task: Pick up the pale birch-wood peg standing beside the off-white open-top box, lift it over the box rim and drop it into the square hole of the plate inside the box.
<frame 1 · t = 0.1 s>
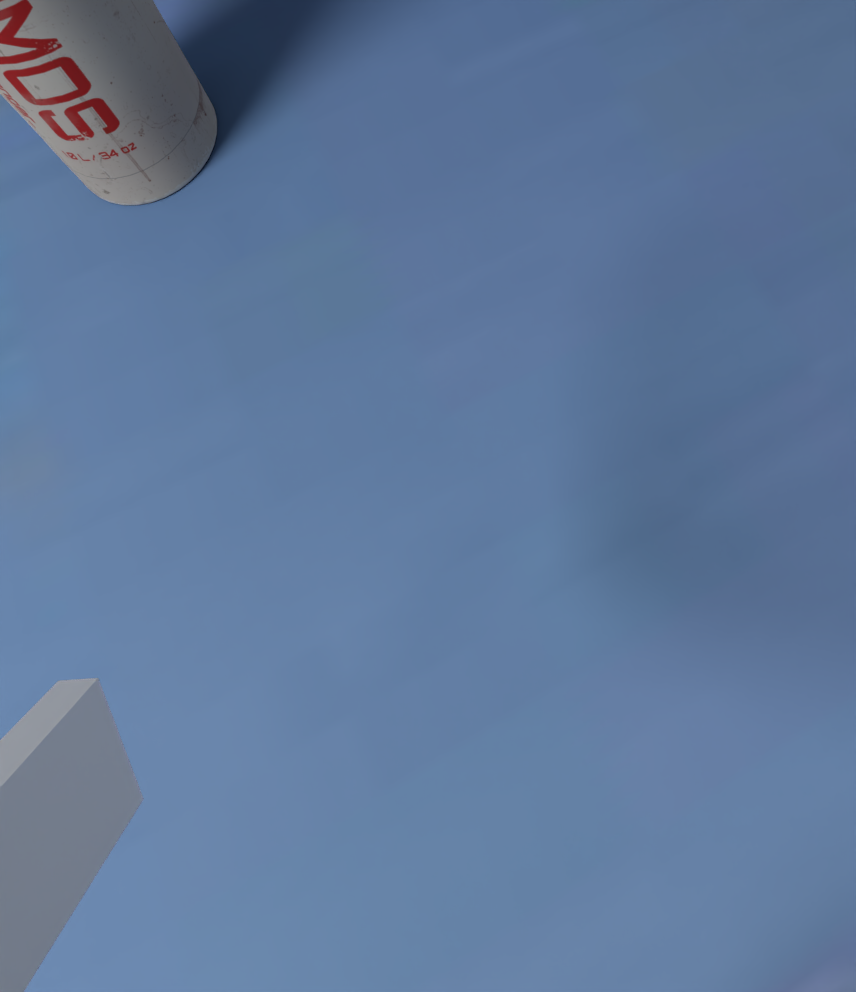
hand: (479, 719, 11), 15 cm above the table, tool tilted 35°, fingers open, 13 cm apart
thermos bottle: (149, 144, 36), on the table
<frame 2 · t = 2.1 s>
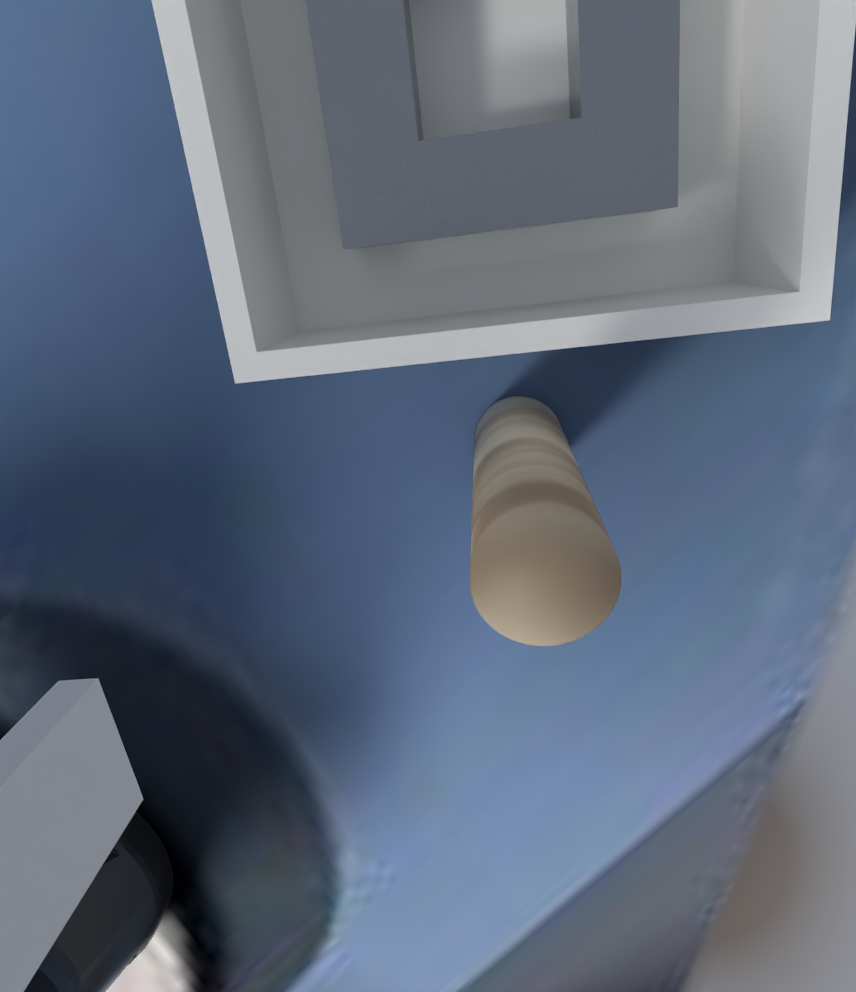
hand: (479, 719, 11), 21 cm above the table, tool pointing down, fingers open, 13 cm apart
box: (490, 64, 26), on the table
peg: (517, 438, 31), on the table
bore plate: (491, 46, 24), in the box, point 2 cm above the table
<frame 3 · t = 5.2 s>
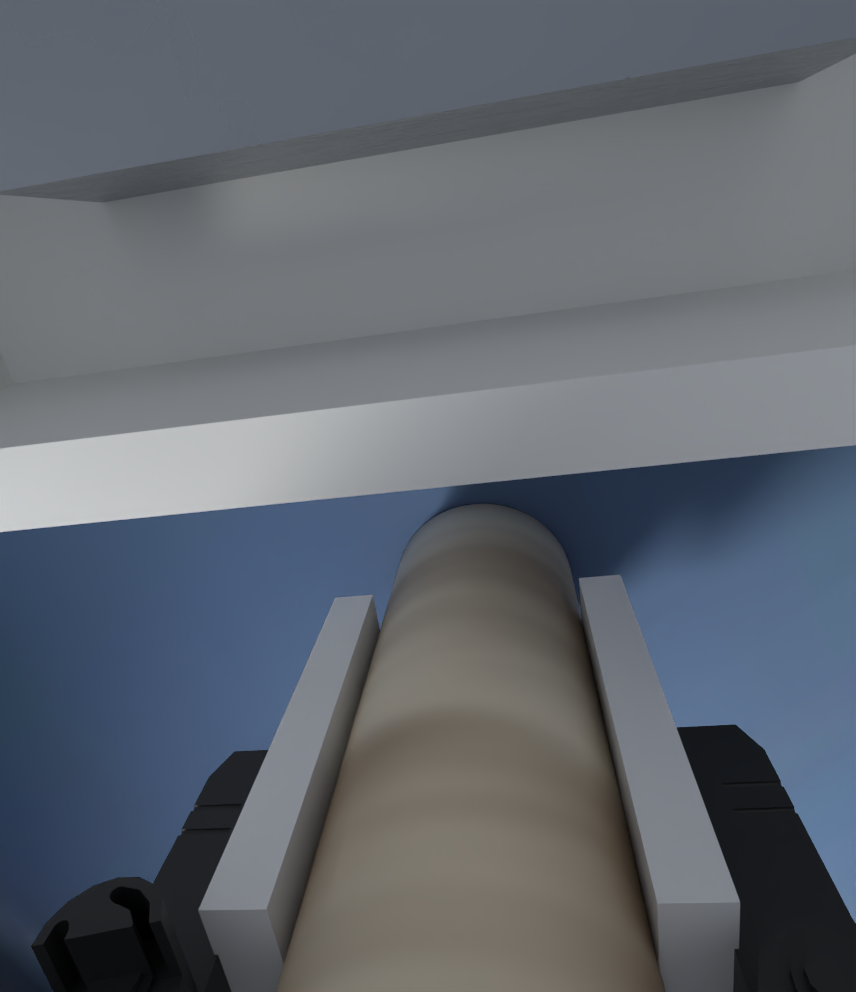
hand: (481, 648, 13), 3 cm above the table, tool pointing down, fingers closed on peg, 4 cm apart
peg: (483, 583, 16), on the table, touching gripper
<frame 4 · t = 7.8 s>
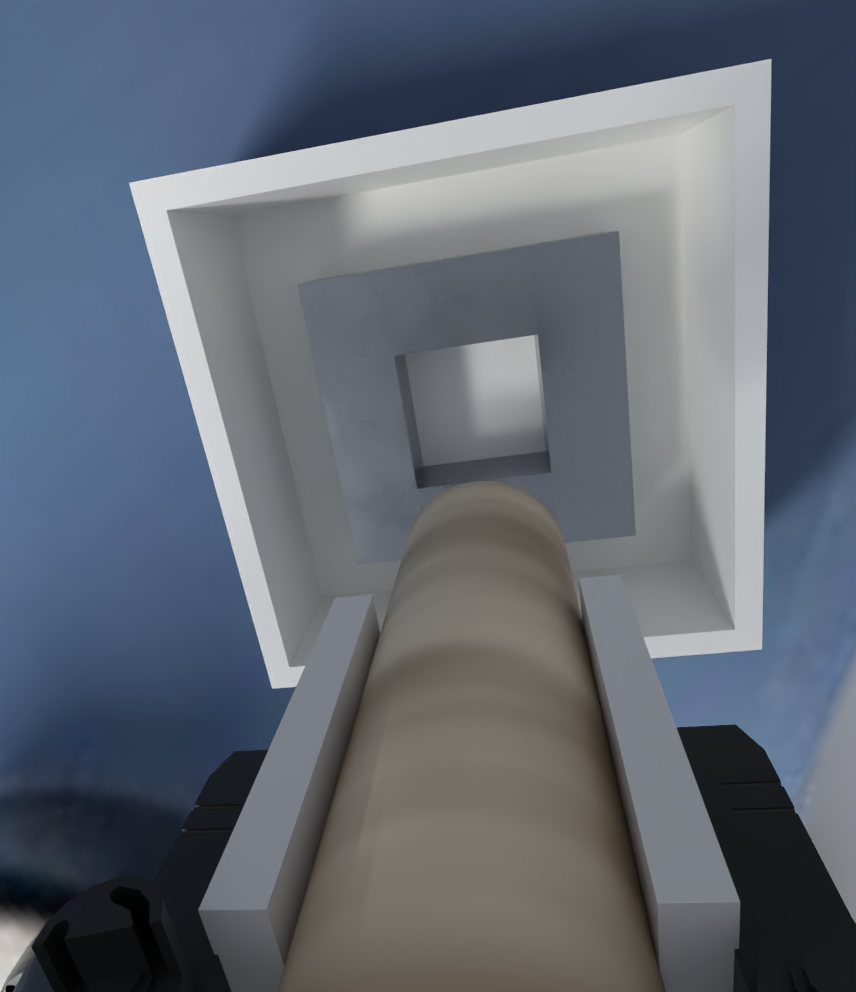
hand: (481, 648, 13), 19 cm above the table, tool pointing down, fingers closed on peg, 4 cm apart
box: (476, 394, 31), on the table
peg: (485, 555, 17), point 15 cm above the table, touching gripper
bore plate: (475, 406, 28), in the box, point 2 cm above the table
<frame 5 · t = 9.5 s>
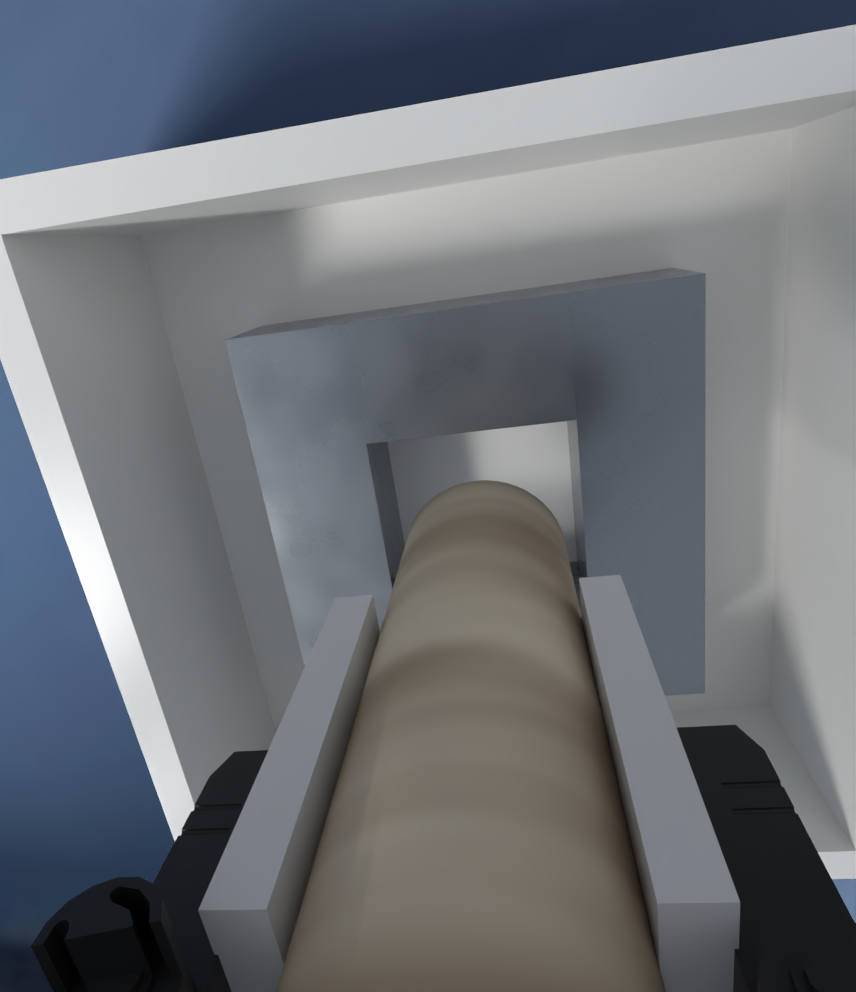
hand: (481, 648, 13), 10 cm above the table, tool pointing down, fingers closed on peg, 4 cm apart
box: (483, 480, 22), on the table
peg: (484, 554, 17), point 6 cm above the table, touching gripper
bore plate: (482, 508, 20), in the box, point 2 cm above the table
when the fingers open (6 cm above the table, at t = 10.9 s): peg stays where it is, resting on box.
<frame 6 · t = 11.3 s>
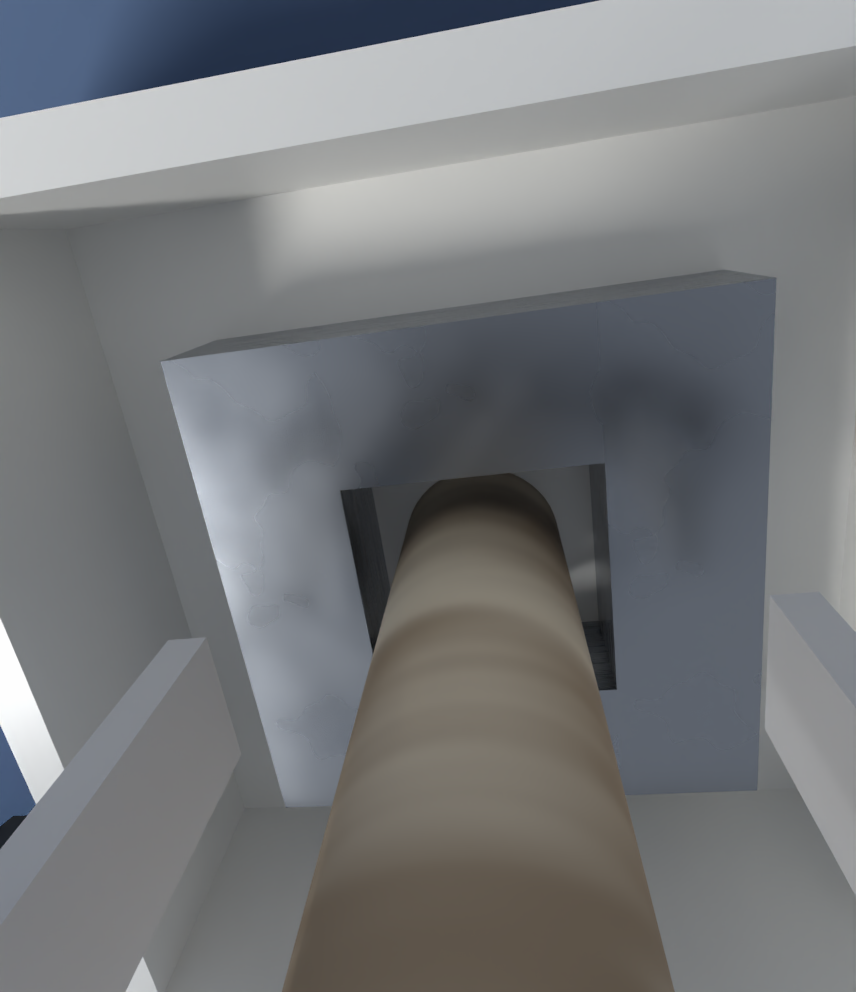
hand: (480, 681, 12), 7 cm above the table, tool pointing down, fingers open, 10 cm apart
box: (486, 522, 19), on the table
peg: (482, 539, 18), point 1 cm above the table, touching box
bore plate: (484, 563, 16), in the box, point 2 cm above the table
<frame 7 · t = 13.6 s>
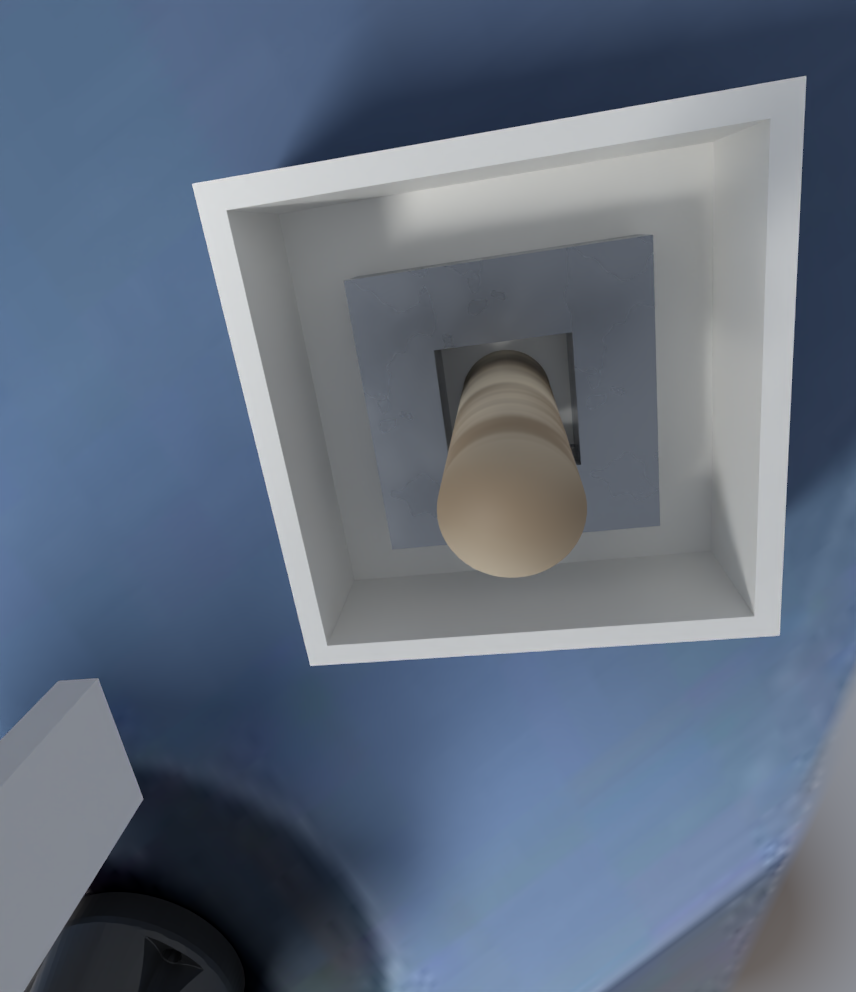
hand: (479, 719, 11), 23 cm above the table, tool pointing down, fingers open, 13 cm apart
box: (507, 387, 32), on the table
peg: (506, 393, 31), point 1 cm above the table, touching box
bore plate: (508, 400, 30), in the box, point 2 cm above the table
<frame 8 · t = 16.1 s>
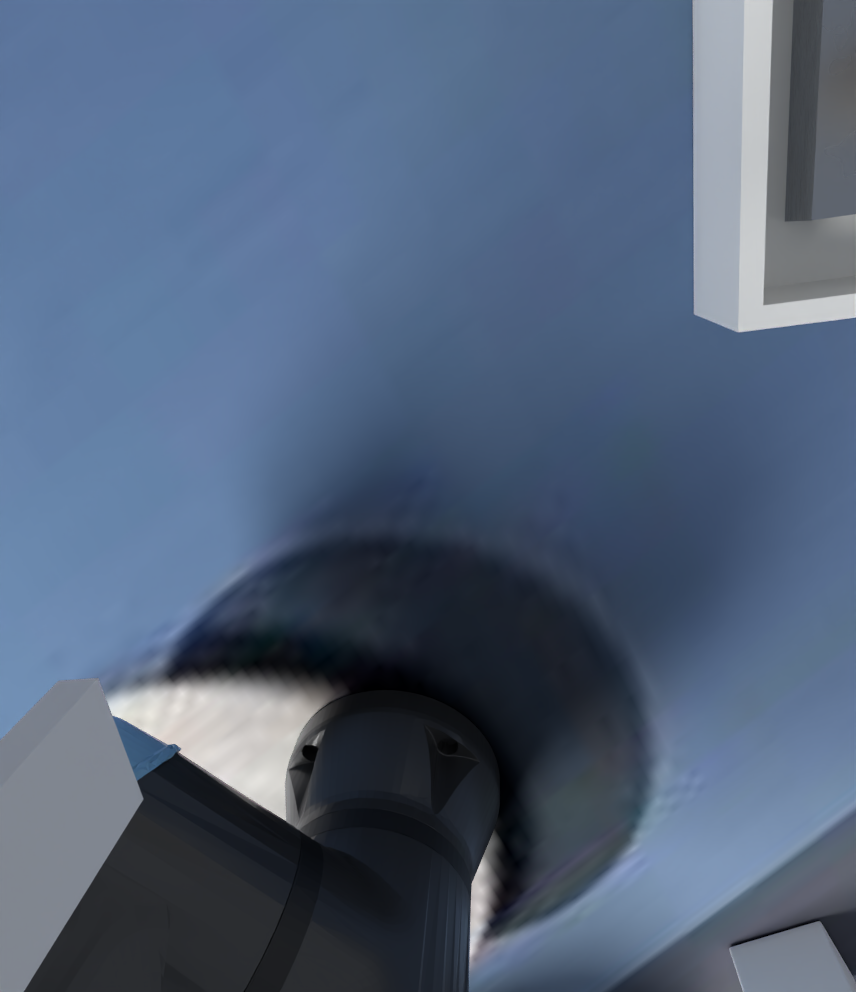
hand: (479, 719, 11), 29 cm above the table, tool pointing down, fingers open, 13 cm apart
milk carton: (789, 958, 52), on the table
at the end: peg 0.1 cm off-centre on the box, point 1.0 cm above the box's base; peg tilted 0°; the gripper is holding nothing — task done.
